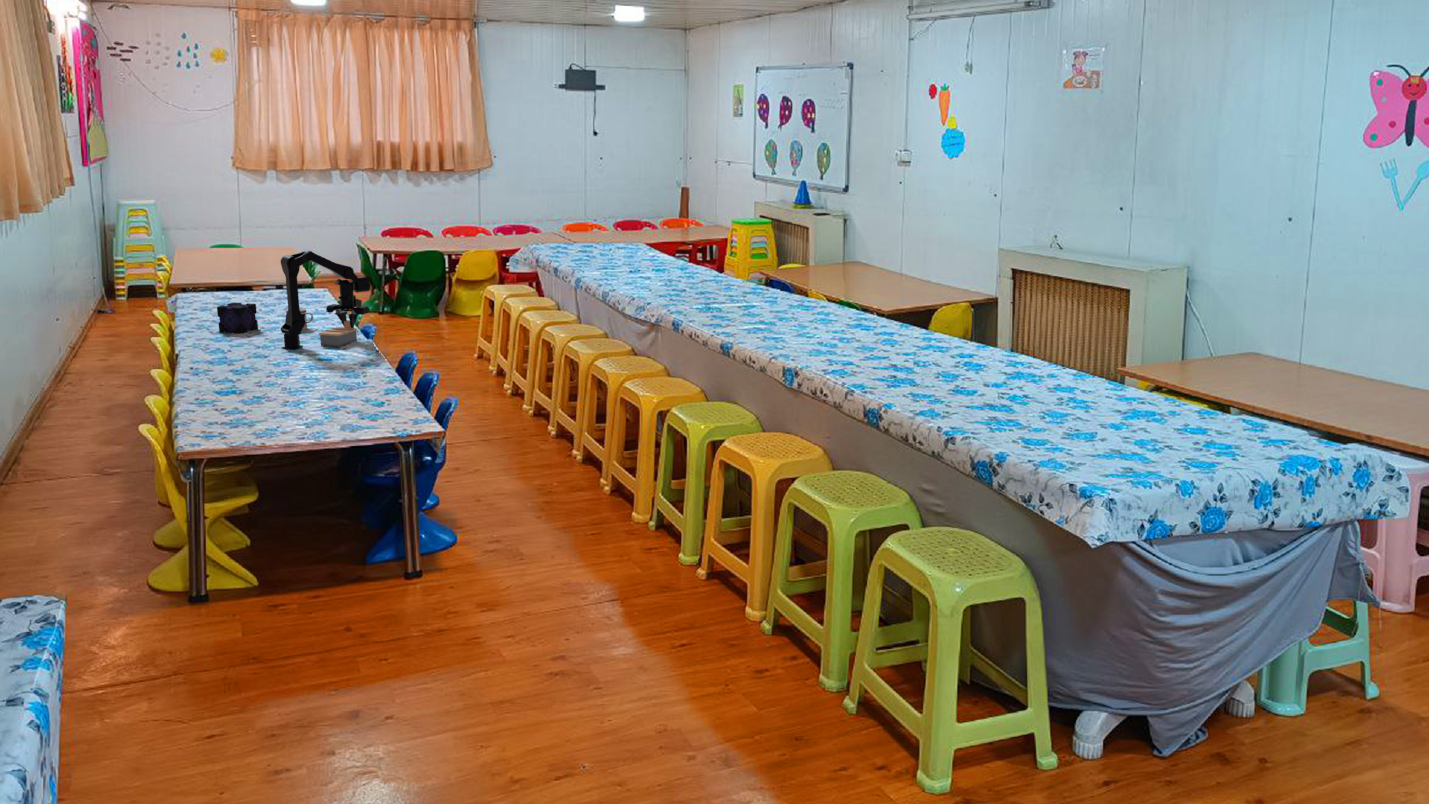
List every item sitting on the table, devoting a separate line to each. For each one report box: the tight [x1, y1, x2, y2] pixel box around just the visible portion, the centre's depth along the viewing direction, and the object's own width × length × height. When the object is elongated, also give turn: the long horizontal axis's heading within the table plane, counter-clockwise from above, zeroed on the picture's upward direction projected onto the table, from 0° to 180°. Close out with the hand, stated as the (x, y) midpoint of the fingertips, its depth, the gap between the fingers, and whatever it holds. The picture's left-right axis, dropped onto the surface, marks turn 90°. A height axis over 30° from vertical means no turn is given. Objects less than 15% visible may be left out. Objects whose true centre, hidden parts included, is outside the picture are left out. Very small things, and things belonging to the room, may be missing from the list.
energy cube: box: [216, 302, 259, 335], centre depth 532 cm, size 12×12×12 cm
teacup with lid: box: [285, 306, 314, 331], centre depth 538 cm, size 12×9×12 cm
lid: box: [318, 319, 358, 336], centre depth 508 cm, size 17×10×4 cm, turn 165°
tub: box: [319, 330, 358, 348], centre depth 508 cm, size 14×9×5 cm, turn 165°
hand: (349, 328), depth 515 cm, fingers closed on lid, 3 cm apart
